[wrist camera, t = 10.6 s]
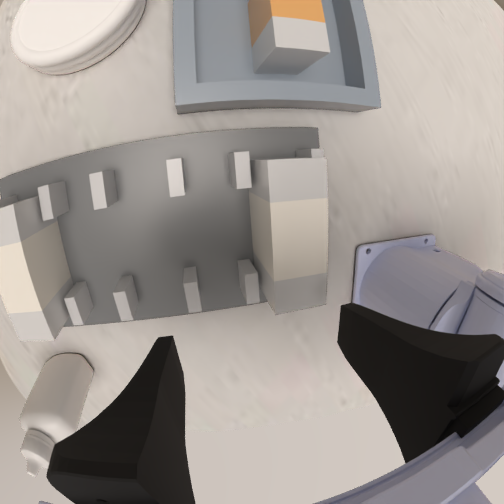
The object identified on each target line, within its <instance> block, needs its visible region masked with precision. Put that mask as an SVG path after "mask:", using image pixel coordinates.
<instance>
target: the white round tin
mask: <svg viewBox="0 0 504 504" xmlns="http://www.w3.org/2000/svg"><path fill="white" fill-rule="evenodd" d="M145 4H146V0H24V2H23V3H22V5H21V6H20V8H19V10H18V12H17V14H16V16H15V19H14V21H13V24H12V28H11V34H10V43H11V48H12V51H13V53H14V55H15V56H16V58H17V59H18V60H19V61H20V62H22V63H24V64H26V65H28V66H29V67H31V68H33V69H35V70H37V71H39V72H41V73H44V74H50V75H62V74H69V73H73V72H77V71H80V70H82V69H85V68H87V67H89V66H92V65H93V64H95V63H97V62H99V61H101V60H102V59H103V58H105V57H107V56H108V55H109V54H111V53H112V52H113V51H114V50H116V49H117V48H118V47H119V46H120V45H121V44H122V43H123V42H124V41H125V40H126V39H127V38H128V37H129V36H130V34H131V33H132V32H133V30H134V29H135V27H136V26H137V24H138V22H139V21H140V18H141V16H142V14H143V11H144V8H145Z"/></svg>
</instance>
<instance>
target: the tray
mask: <svg viewBox="0 0 504 504" xmlns="http://www.w3.org/2000/svg"><path fill="white" fill-rule="evenodd" d="M321 2H322V7H323V12H324V18H325V23H326V29H327V35H328V41H329V47H330V53H329V54H327V55H326V56H324V57H323V58H321V59H320V60H318V61H317V62H315V63H314V64H312V65H311V66H309V67H308V68H306V69H305V70H303V71H302V72H301V73H299V74H298V75H290V74H254V69H253V58H252V46H251V35H250V25H249V14H248V4H247V0H173V55H174V84H175V103H176V109H177V113H178V114H184V113H193V112H203V111H215V110H229V109H250V108H305V109H326V110H340V111H351V112H361V111H366V110H371V109H377V108H381V100H380V91H379V83H378V75H377V68H376V62H375V56H374V50H373V44H372V39H371V34H370V29H369V24H368V20H367V16H366V11H365V7H364V3H363V0H321Z"/></svg>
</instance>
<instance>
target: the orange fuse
mask: <svg viewBox="0 0 504 504" xmlns="http://www.w3.org/2000/svg"><path fill="white" fill-rule="evenodd" d="M247 4H248V14H249V25H250V35H251V46H252V58H253V69H254V74H290V75H298V74H299V73H301V72H302V71H303V70H305V69H306V68H308V67H309V66H311V65H312V64H314V63H315V62H317V61H318V60H320V59H321V58H323V57H324V56H326V55H327V54H329V53H330V47H329V41H328V35H327V29H326V23H325V18H324V12H323V7H322V2H321V0H247Z"/></svg>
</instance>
